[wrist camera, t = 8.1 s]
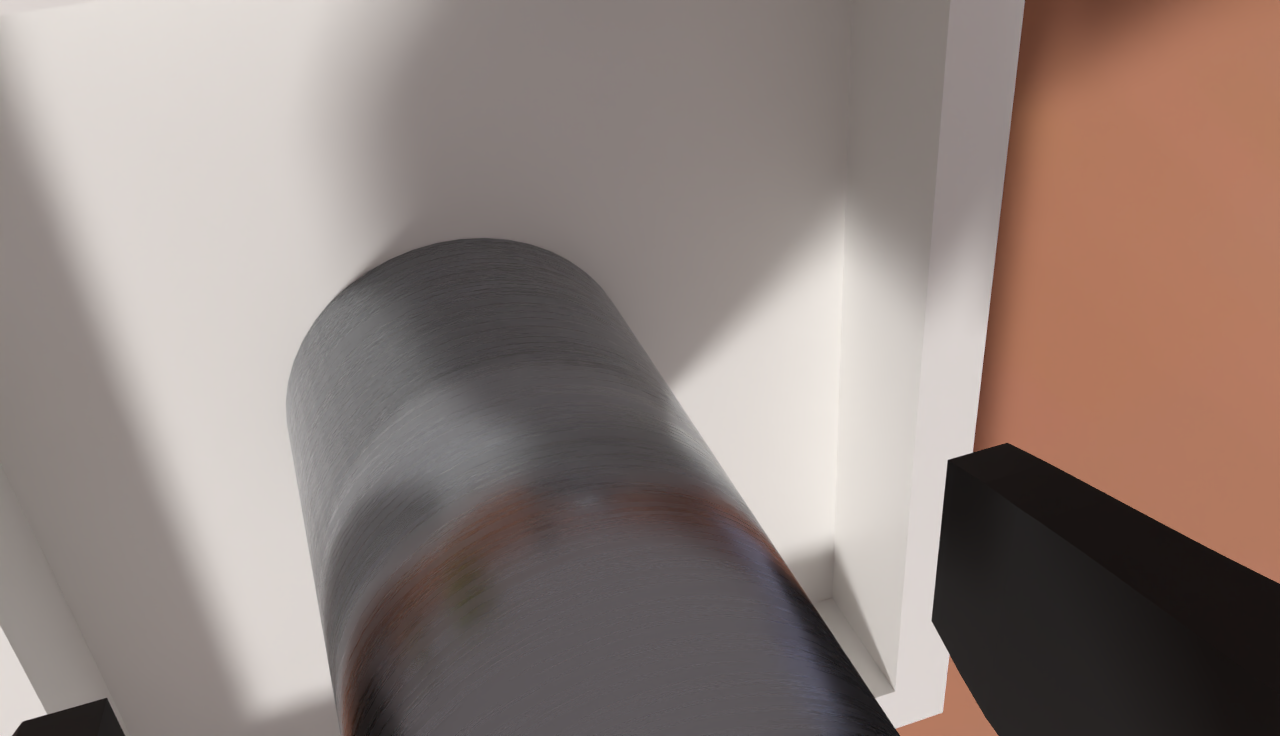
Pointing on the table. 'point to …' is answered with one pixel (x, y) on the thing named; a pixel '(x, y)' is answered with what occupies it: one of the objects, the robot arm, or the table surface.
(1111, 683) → the robot arm
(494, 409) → the cylinder
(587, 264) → the tray
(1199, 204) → the table surface
